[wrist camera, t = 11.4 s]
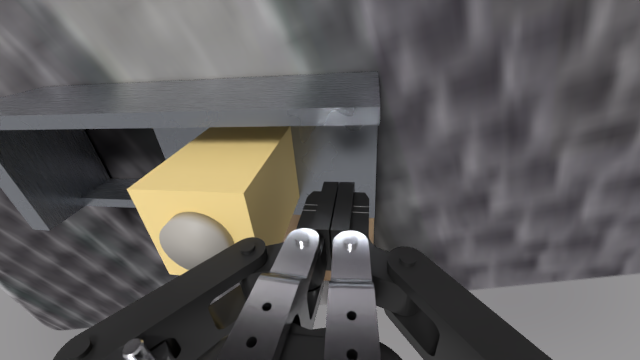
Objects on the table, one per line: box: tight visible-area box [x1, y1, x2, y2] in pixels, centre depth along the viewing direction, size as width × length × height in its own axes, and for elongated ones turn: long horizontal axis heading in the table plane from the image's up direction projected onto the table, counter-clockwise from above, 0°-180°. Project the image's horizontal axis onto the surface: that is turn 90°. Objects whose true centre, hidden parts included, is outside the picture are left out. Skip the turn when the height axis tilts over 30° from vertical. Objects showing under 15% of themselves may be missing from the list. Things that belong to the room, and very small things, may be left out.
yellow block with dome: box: [127, 126, 300, 275], centre depth 15 cm, size 5×5×8 cm
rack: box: [0, 71, 380, 230], centre depth 18 cm, size 24×9×7 cm, turn 95°
